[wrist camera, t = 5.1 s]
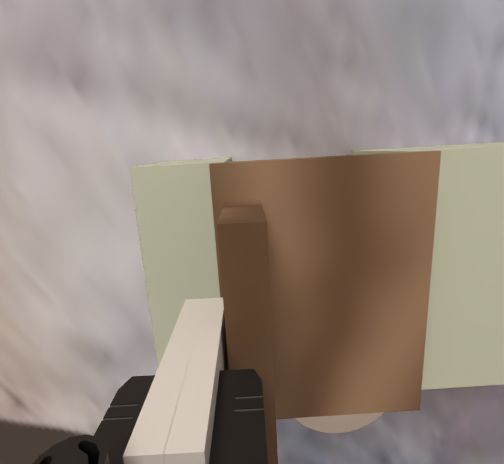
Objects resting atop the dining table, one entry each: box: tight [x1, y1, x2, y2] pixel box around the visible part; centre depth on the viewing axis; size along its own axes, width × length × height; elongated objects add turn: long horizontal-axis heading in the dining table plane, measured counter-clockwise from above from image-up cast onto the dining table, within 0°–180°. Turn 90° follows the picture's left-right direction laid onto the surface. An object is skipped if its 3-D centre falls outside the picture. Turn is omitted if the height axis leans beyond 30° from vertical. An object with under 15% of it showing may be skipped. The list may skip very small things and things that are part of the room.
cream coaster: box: [294, 412, 384, 433], centre depth 25 cm, size 9×9×1 cm
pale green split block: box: [129, 142, 504, 390], centre depth 19 cm, size 24×12×8 cm, turn 93°
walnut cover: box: [209, 151, 441, 464], centre depth 13 cm, size 9×12×5 cm
